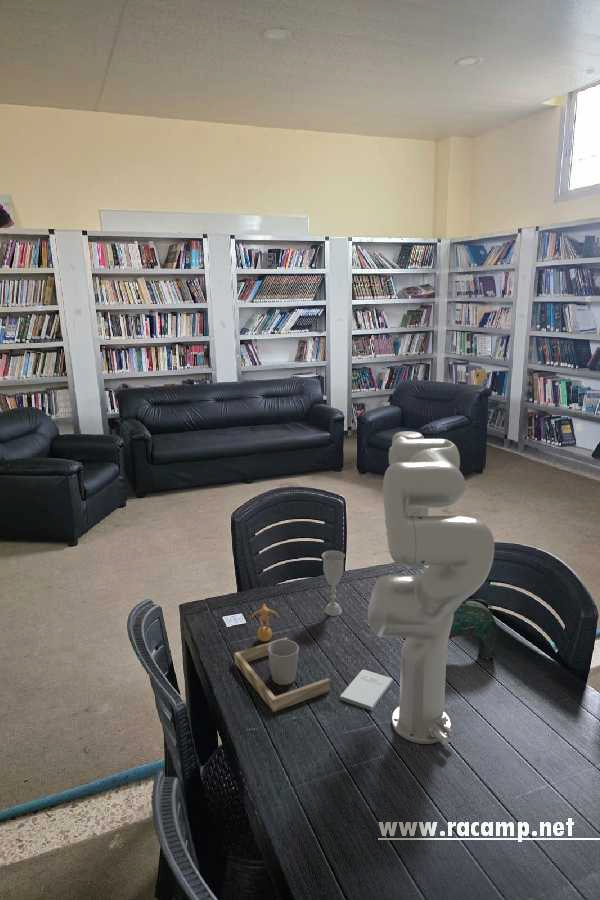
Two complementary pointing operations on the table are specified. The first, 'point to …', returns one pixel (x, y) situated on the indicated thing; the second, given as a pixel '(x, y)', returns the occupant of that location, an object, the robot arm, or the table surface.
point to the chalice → (333, 577)
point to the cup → (283, 661)
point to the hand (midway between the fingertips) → (404, 554)
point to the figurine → (263, 632)
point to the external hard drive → (366, 689)
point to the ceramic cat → (476, 625)
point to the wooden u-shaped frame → (263, 690)
